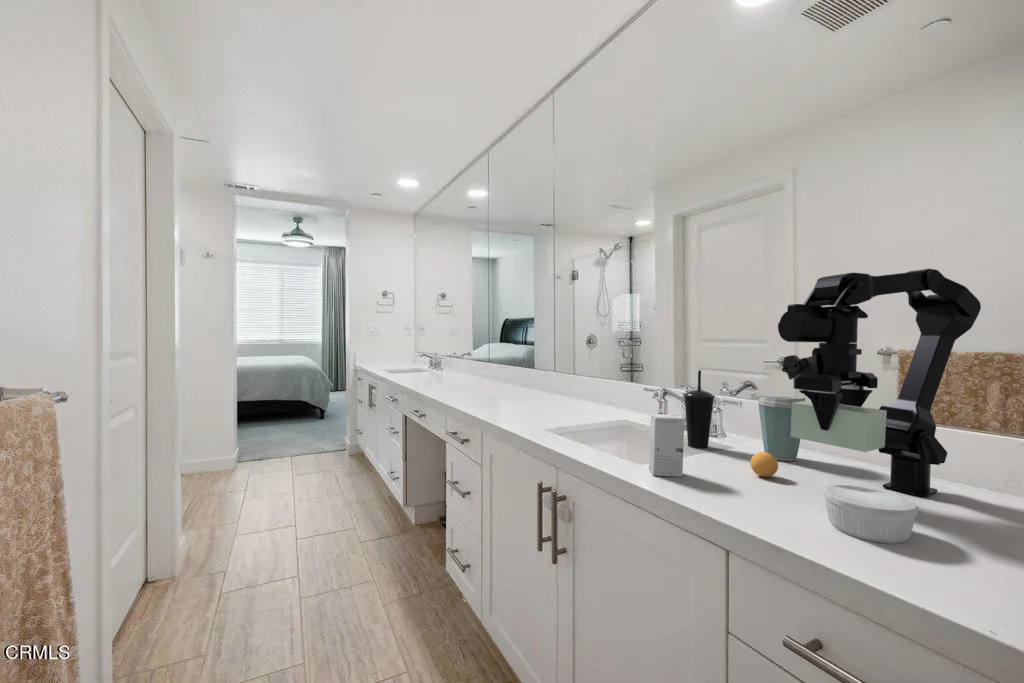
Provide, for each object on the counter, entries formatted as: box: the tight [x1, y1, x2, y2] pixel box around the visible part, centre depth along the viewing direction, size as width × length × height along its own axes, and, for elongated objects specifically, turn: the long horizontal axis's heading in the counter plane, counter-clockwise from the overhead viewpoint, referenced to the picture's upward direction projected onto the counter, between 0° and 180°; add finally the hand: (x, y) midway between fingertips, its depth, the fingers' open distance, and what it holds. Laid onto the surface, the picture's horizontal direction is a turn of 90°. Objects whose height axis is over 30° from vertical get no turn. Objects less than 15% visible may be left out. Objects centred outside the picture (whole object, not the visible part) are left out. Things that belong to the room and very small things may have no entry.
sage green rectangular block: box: [790, 400, 887, 453], centre depth 83 cm, size 8×12×6 cm, turn 31°
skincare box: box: [648, 413, 685, 478], centre depth 95 cm, size 6×4×12 cm
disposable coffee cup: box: [757, 396, 806, 462], centre depth 109 cm, size 11×11×15 cm
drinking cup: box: [683, 370, 716, 450], centre depth 119 cm, size 8×8×20 cm
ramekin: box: [823, 484, 919, 544], centre depth 68 cm, size 11×11×5 cm
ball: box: [750, 451, 779, 478], centre depth 94 cm, size 5×5×5 cm
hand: (835, 428), depth 83 cm, fingers closed on sage green rectangular block, 8 cm apart
